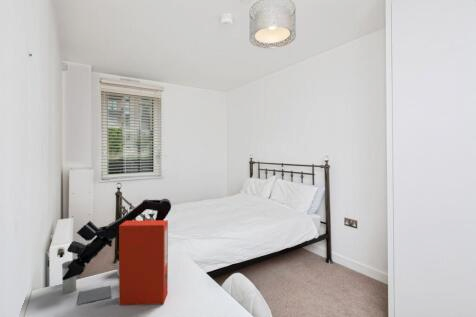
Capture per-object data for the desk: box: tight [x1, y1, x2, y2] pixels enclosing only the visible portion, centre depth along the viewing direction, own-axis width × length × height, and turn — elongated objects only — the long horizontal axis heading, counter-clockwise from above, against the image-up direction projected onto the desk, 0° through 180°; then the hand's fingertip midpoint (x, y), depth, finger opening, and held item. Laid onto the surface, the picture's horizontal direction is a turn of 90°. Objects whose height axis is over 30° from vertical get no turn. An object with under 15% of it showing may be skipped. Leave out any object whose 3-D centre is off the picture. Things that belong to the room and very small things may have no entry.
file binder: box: [118, 219, 169, 306], centre depth 106 cm, size 8×17×32 cm, turn 94°
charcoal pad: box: [77, 284, 112, 306], centre depth 109 cm, size 12×10×1 cm
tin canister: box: [61, 260, 77, 294], centre depth 112 cm, size 5×5×12 cm
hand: (66, 274), depth 112 cm, fingers open, 9 cm apart
